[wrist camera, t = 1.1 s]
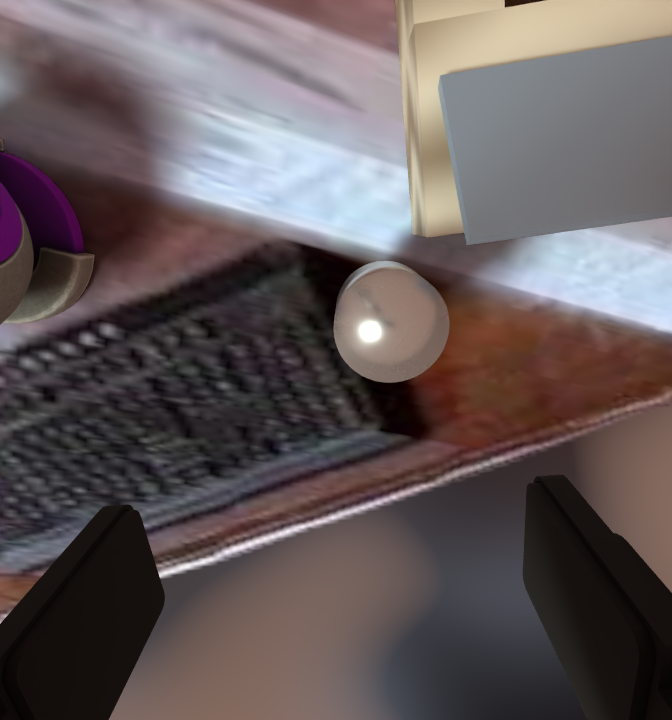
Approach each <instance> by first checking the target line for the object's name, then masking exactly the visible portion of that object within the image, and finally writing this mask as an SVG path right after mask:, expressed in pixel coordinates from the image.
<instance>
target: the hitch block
mask: <svg viewBox="0 0 672 720" xmlns="http://www.w3.org/2000/svg"><path fill="white" fill-rule="evenodd" d="M395 7H396V20H397V33H398V46H399V59H400V72H401V85H402V98H403V112H404V125H405V138H406V151H407V164H408V177H409V190H410V203H411V217H412V230H413V234H414V235H418V236H422V237H427V238H431V237H438V236H445V235H452V234H459V233H464V229H463V223H462V218H461V212H460V207H459V201H458V196H457V191H456V185H455V180H454V174H453V169H452V163H451V158H450V152H449V147H448V141H447V136H446V131H445V125H444V120H443V114H442V109H441V103H440V98H439V92H438V84H439V79H440V75H445V74H451V73H456V72H462V71H468V70H474V69H480V68H486V67H492V66H498V65H503V64H509V63H515V62H521V61H527V60H533V59H539V58H545V57H551V56H556V55H562V54H568V53H574V52H580V51H586V50H592V49H598V48H603V47H609V46H615V45H621V44H627V43H633V42H639V41H645V40H651V39H656V38H662V37H668V36H672V0H545V1H540V2H534V3H529V4H523V5H518V6H512V7H506V8H505V0H395Z"/></svg>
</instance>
